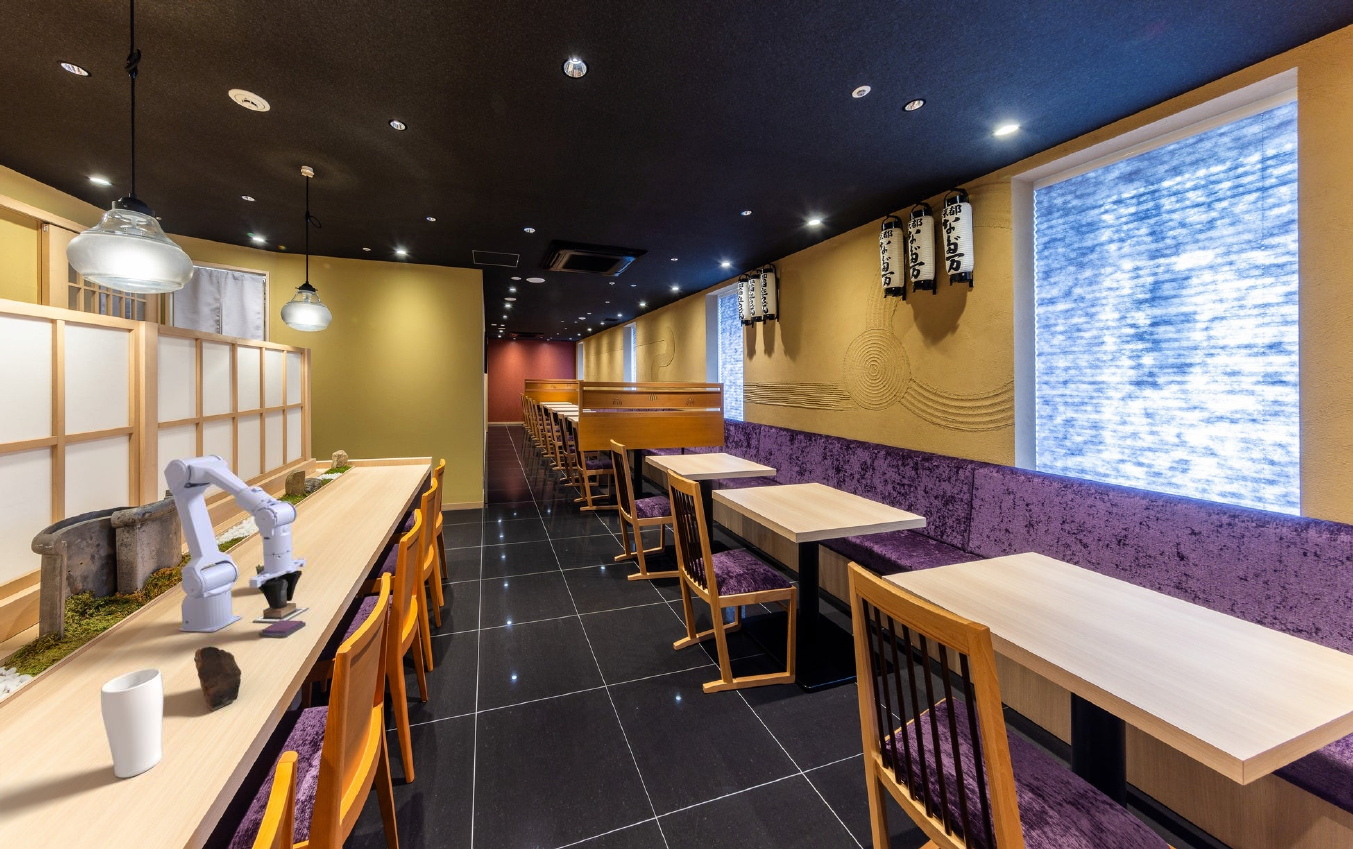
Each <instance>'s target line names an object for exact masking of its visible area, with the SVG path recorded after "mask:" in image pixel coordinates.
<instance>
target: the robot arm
mask: <svg viewBox="0 0 1353 849" xmlns="http://www.w3.org/2000/svg"><path fill="white" fill-rule="evenodd" d="M163 474H164V477H165V480H166V483H167V484H166V485H167V488H168V491H169V494H172V497H173V502H174V504H175V508H176V510H177V514H178V517H179V520H180V524H181V528H182V531H183V534H184V538H185V541H186V544H187V548H188V551H189V552H188V553H189V555H190V558H191V559H190V560H189V561H188V563H186V564H185V565H184V566H183V567H182V569H181V570H180V572H181V579H182V580H181V587H182V590H183V592H184V593H185V594H186V596H184V598H183V600H182V602H181V618H182V627H180V628H179V631H180V632H201V633H203V632H205V633H206V632H207V633H214V632H217V631H219V630H221V629H222V628H224V627H227V626H229V625H230V624H233V623H235V622H237V621H238V620H241V619H242V618H243V615H233V598H232V588H233V587H235V584H234V583H235V582H236V581H238V579H239V576H240V571H239V567H238V566H237V564H236V563H235V562H234V560H233V557H232V555H230V554H228V553H226V552H222V551H221V550H220V549H219V545H218V542H217V538H216V536H215V533H214V528H213V526H212V522H211V518H210V515H209V511H208V508H207V504H206V500H205V498H204V497H205V496H204V493H205V491H206V490H207V489H208V488H210V487H211V486H212V485H214V486H216V487H218V488H219V489H221V490H222V491H225V493H228V494H230V495H232V496H233V497H235V499H234V502H235V504H236V505H237V506H238V507H239V508H241V510H244V511H245V512H247V513H248V514H250V515H251V516H252V517H253V518H254V519H253V520H254V522H255V525H256V527H257V528H258V531H259V532H258V533H259V535H260V537H262V553H263V566H264V571H262V572H261V573H259V574H258V575H257V574H256V576H253V577H252V578H250V579H249V581H248V584H249V585H248V586H249V588H257V589H259V590H260V592H261V593H262V594H263V596H264V597H265V600H266V601H267V604H268V608H269V607H270V608H278V607H280V600H281V589H282V585H283V583H284V581H278V579H285V580H286V581H287V582H288V587H287V602H291V601H292V600H293V599H294V598H293V597H294V593H295V590H296V586H297V584H298V582H299V580H300V578H301V576H302V574H303V571H302V570H298V568H304V567H307V559H306V558H300V557H299V558H297V559H294V555H293V554H294V553H293V552H294V551H293V538H292V537H293V535H292V534H293V533H292V523H294V522H295V521H296V520H297V515H298V512H297V508H296V507H295V505H293V504H292V502H290V501H286V500H284V501H281V500H278V499H276V498H275V497H273V496H271V495H270V494H269V493H267V492H266V491H265V490H264V489H263V488H261V486H256V485H253V486H252V485H251V486H248V485H247V484H246V483H245V482H244V481H243V480H241V479H240V478H239V477H238V476H237V475H236V474H234V473H233V472H232V471H231V470H230V469H229V465H228V462H227V461H226V460H224V459H223V458H222V457H221V456H220V455H217V454H209V455H205V456H199V457H197V456H196V457H190V458H183V459H179V458H178V459H177V458H176V459H173V460H171V461H170V462H168V464H167V466H166V468H165V469H164V471H163ZM207 566H208V567H207ZM276 578H277V580H276Z"/></svg>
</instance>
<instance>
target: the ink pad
mask: <svg viewBox="0 0 1353 849" xmlns="http://www.w3.org/2000/svg"><path fill="white" fill-rule="evenodd" d="M306 626H307V625H306V622H305V621H303V620H279V621H277V622H276V623H271V624H270V625H268V626H267V627H264V628H263V629H261V631H259V633H258V637H259V636H260V637H261V638H262V637H263V638H265V637H266V638H284V637H285V639H287V638H288V637H289V636H291V635H293V634H294V633H296V632H299V630H301V629H303V628H304V627H306Z"/></svg>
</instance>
